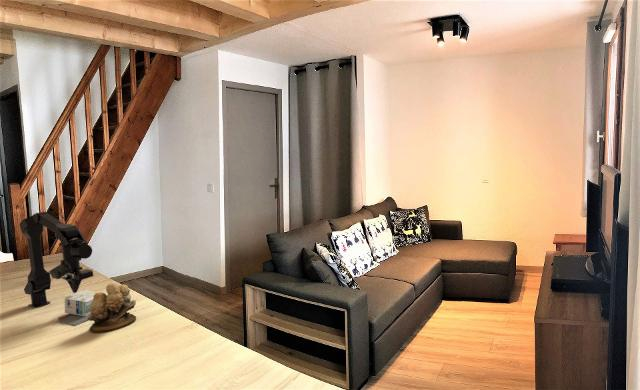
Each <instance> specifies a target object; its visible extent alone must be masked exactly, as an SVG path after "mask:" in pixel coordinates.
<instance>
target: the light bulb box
mask: <svg viewBox="0 0 640 390" xmlns="http://www.w3.org/2000/svg"><path fill="white" fill-rule="evenodd" d="M98 292H99V291H98ZM98 292H97V291H92V290H87V289H86V290H85V289H83V290H81V291H77V292H76V293H73V294H70V295H69V296H67V297H64V313H65V314H75V315H80V316H85V317H87V316H88V315H90V314H91V313H90V311H91V310H90V308H91V302H92V301H93V297H94V295H95V294H96V293H98Z"/></svg>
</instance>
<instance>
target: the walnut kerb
mask: <svg viewBox="0 0 640 390" xmlns="http://www.w3.org/2000/svg"><path fill="white" fill-rule="evenodd" d="M71 315H74V314H69V313H66V314H64V315H62V316H59V317H57V321H58V320H61V319H64V318H66V317H69V316H71Z"/></svg>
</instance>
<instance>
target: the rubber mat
mask: <svg viewBox="0 0 640 390" xmlns="http://www.w3.org/2000/svg"><path fill="white" fill-rule="evenodd" d="M90 315H92V314H90ZM90 315H88V316H87V317H85V316H80V315H75V314H74V315H71V316H69V317H66V318H64V319H61V320H58V319H57V322H58V323H61V324H67V325H70V326H74V327H75V326H78V325H80V324H83V323H85V322H89V320H88V317H89V316H90Z"/></svg>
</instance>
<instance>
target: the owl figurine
mask: <svg viewBox="0 0 640 390" xmlns="http://www.w3.org/2000/svg"><path fill="white" fill-rule="evenodd" d="M105 289H106V290H105V291H106V293H107V294H106V293H105V292H102V291H98V293H96V294H95V295H94V297H93V301H92V302H91V308H90V310H91V311H90V313H91V314H92V315H90V316H89V317H88V322H89V321H90V322H92V321H93V322H92V324H91V326H90V327H89V332H90V333H92V334H105V333H109V332H113V331H118V330H120V329H123V328H126V327H128V326H131V325H132V324H134V323H135V322H136V321H137V316H136V315H134V314H133V313H131V312H128V311H131V310H132V309H134V308H135V305H136V302H137V300H135V299H133V300H131V299H132V295H131V294H130V293H131V291H130V288H129V285H127V284H120V285H118V284H117V283H115V282H110V283H108V284H107V285H106V287H105Z"/></svg>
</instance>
